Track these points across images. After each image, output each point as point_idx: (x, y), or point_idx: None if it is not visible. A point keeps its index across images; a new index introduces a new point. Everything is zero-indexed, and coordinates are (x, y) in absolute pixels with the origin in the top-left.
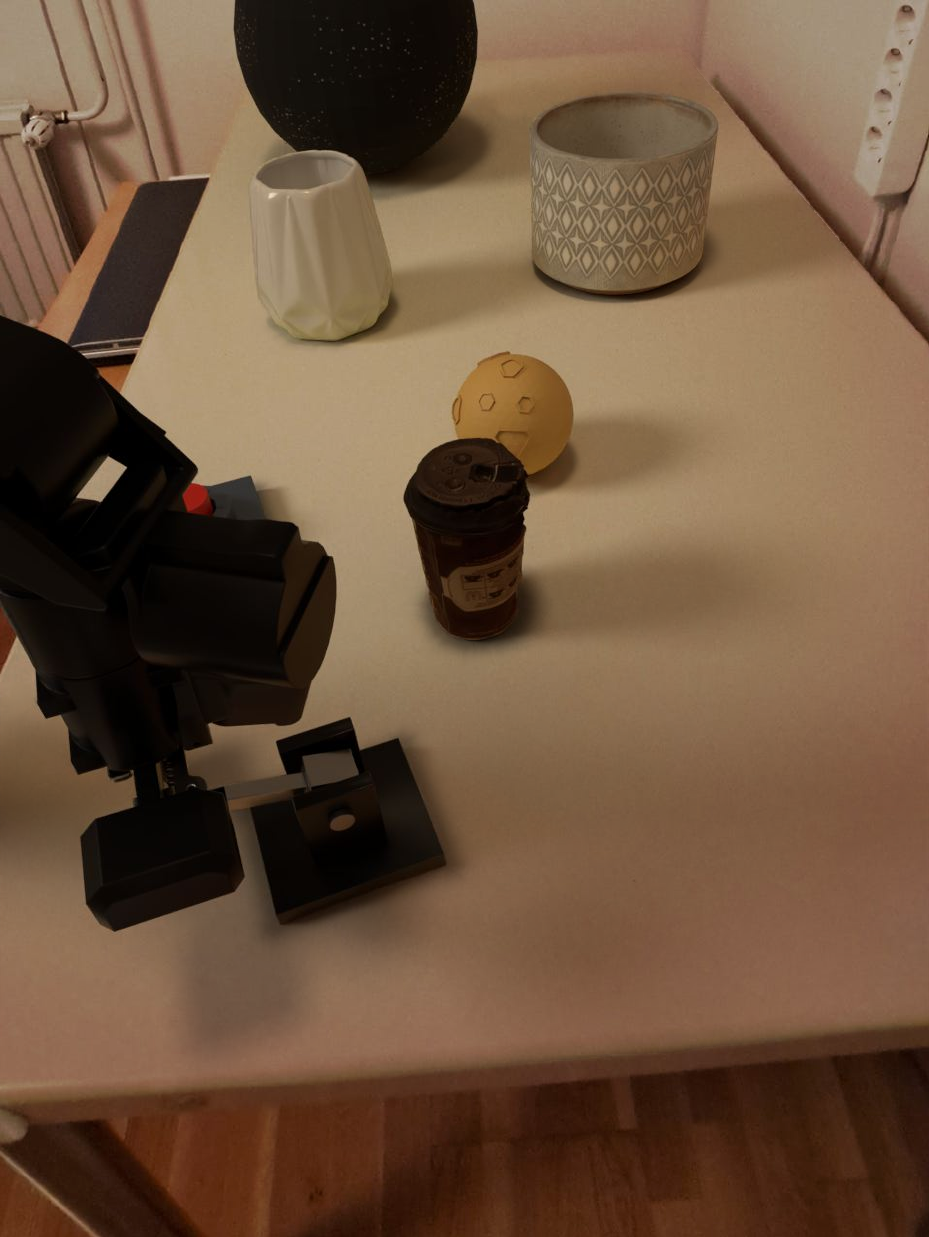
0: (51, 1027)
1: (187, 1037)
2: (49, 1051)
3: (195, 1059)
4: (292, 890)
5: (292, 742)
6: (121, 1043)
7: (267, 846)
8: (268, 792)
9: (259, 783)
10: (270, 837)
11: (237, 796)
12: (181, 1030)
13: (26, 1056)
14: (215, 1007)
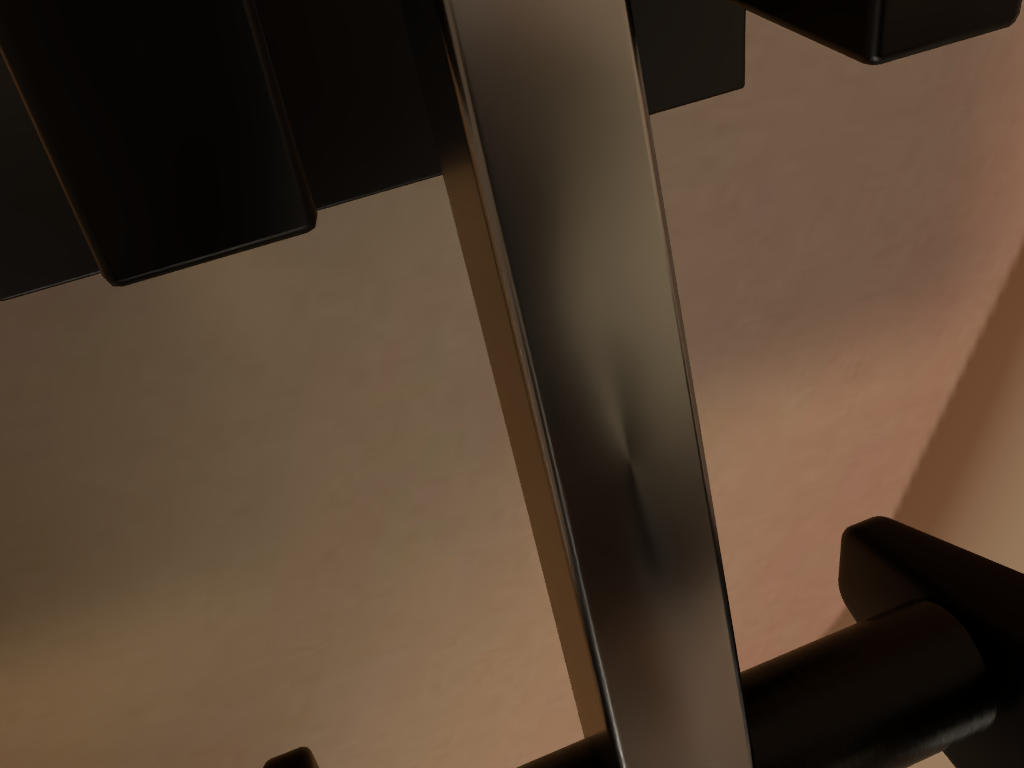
0: (749, 630)
1: (912, 326)
2: (799, 614)
3: (973, 294)
4: (664, 10)
5: (156, 76)
6: (851, 478)
7: (397, 148)
8: (667, 272)
9: (578, 361)
10: (346, 136)
11: (700, 508)
12: (888, 345)
13: (790, 650)
14: (873, 263)
